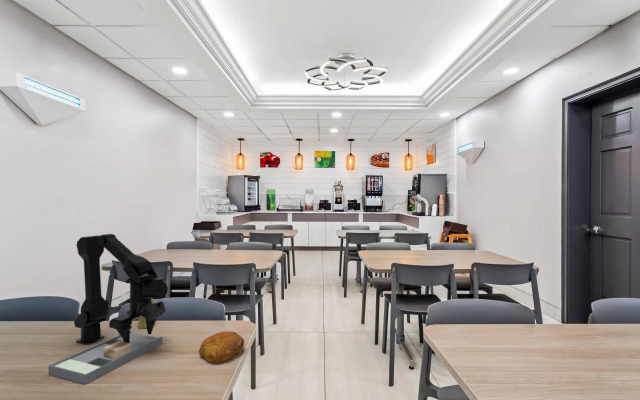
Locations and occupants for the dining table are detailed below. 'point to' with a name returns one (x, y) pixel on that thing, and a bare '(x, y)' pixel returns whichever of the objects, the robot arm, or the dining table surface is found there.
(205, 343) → the croissant
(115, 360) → the box
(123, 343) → the beech block
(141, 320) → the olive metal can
